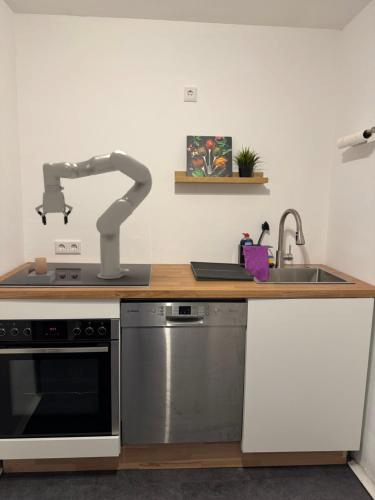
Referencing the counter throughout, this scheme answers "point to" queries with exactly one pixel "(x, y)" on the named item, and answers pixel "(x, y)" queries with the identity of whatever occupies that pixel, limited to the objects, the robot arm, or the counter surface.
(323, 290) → the counter surface
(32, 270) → the walnut cube
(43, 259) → the terracotta cylinder
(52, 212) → the robot arm
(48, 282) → the block
